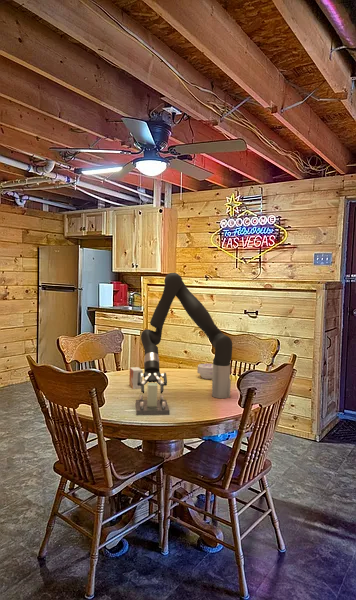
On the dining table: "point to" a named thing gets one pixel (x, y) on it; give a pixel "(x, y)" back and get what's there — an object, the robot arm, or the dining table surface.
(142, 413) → the pin plate
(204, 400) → the dining table surface
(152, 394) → the beige tall block
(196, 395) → the dining table surface
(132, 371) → the small box
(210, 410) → the dining table surface
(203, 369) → the paper bowls
